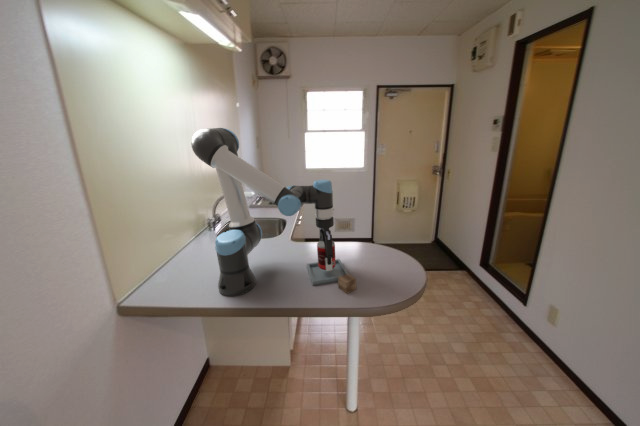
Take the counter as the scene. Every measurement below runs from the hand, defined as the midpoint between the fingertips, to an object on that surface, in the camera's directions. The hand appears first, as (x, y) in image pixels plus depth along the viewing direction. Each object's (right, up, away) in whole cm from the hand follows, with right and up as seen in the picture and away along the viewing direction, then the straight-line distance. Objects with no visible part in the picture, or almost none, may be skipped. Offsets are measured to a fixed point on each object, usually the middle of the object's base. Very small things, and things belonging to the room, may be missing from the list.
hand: (326, 265), depth 122 cm
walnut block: (+8, -7, -11) cm, 15 cm away
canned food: (0, 0, 0) cm, 0 cm away
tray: (0, -4, +1) cm, 4 cm away
